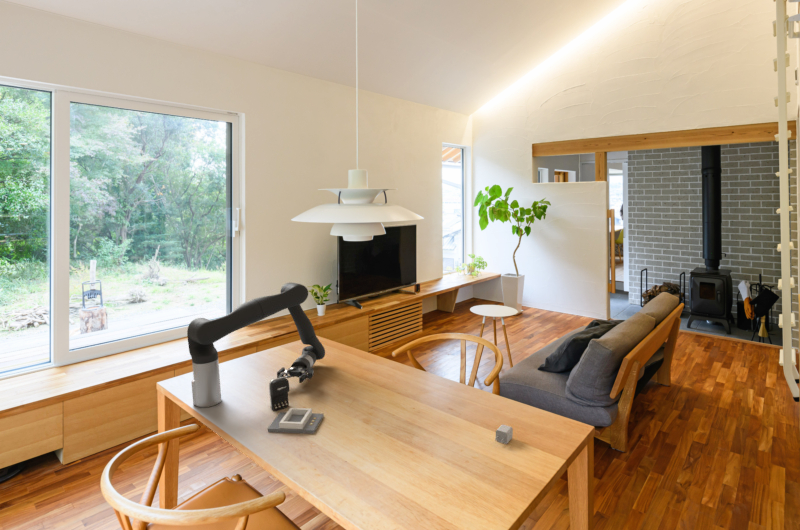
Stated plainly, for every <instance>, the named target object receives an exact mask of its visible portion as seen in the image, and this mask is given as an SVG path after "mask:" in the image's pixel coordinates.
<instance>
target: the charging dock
mask: <svg viewBox="0 0 800 530" xmlns="http://www.w3.org/2000/svg"><path fill="white" fill-rule="evenodd" d="M323 419H324V413H321V412H320V413H319V412H318V413H316V412H315V413H314V412H313V409H312V408H304V407H289V409H288V410H287V411H280V412H279V413H278V415H277V416H276V417H275V418H274V419H273V421H272V422H271V423H270V425H269V426H268V427H267V433H283V432H286V433H289V434H309V435H311V434H313V435H314V434H315V433H316V431H317V429H318V427H319V426H318V425H320V424H321V422H322V420H323ZM286 433H285V434H286Z"/></svg>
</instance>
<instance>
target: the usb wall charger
mask: <svg viewBox="0 0 800 530" xmlns="http://www.w3.org/2000/svg"><path fill="white" fill-rule="evenodd" d="M513 432H514V431H513V427H512V426H511V425H505V424H501V425H500V426H499V427H498V428H497V429H496V430H495V438H494V439H495V440H494V441H496V442H498V443H500V444H504V445H507V444H509V442H510V441H511V440H512V439H513V434H514V433H513Z"/></svg>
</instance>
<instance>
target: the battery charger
mask: <svg viewBox="0 0 800 530" xmlns="http://www.w3.org/2000/svg"><path fill="white" fill-rule="evenodd" d="M268 387H269V388H268V390H269V399H270V400H269V401H270V409H271V410H272V411H279V410H282V409H286V408H287V407H289V406H290V404H289V403H290V402H289V392H290V382H289V379H287V378H285V377H280V378H277V377H276V378H273V379H271V380H270V381H269V385H268Z"/></svg>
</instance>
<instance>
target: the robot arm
mask: <svg viewBox="0 0 800 530" xmlns="http://www.w3.org/2000/svg"><path fill="white" fill-rule="evenodd" d="M308 297H309V290H308V288H307V287H306V286H305V285H303V284H301V283H296V282H285V283H284V284H283V285H282V286H281V288H280V293H278V294H277V293H276V294H272V295H265V296H259V297H257V298H256V297H255V298H252V299H250V300H248V301H245V302H243V303H240V304H239V305H237V306H236V308H234V310H232V311H231V312H230V313H228V314H226V315H223V316H221V317H218V318H215V319H207V318H205V317H197V318H194V319H193V320H191V321H190V323H189V324H188V327H187V331H186V332H187V335H186V336H187V342H188V343H187V344H188V352H189V355H190V357H191V364H192V376H193V380H192V381H191V393H192V405H193V406H197V407H198V408H208V407H213V406H216V405H219V404H220V403H221V402H222V393H221V391H222V390H221V378H220V377H221V376H220V365H219V352H218V350H217V348H216V347H215V345H214V343H216V342H217V341H219V340H221V339H223V338H225V337H226V336H228V335H230V334H232V333H233V332H235V331H238V330H241V329H243V328H245V327H247V326H250V325H253V324H255V323H257V322H259V321H262V320H264V319H266V318H268V317H270V316H273V315H275V314H277V313H279V312H281V311H284V310H288V312H289V313H290V316H291V317H292V318H291V319H292V320H293V323H294V324H295V327H296V329H297V332H298V335H299V339H300V341H301V343H302V344H303V345H307V346H304V347H303V348H302V350H301V355H300V356H298V357H297V358H296V359H295V360H294V361H293V363H292V364H291V366H290V367H289V368H288V369H287V368H285V367H281V368H280V369H279V370H278V371H276V378H280V377H285V378H286V379H287V380H289V379H290V378H295V377H296V378H298V382H299V384H301V383H304V382H305V380H307V379H308V380H311V379H313V376H314V374H315V373H314V368H313V366H314V365H315V364H316V362H317V360H319V361H320V360H323V359H324V357H325V355H326V349H325V347H324V345H323V344H322V342H321V341H320V340H319V338H318V337H317V335H316V332H315V328H314V325H313V324H312V322H311V320H310V318H309V317H308V315H307V314H306V313H305V311H304V309H303V308H302V304H303V303H304V302H305V301H306V300H307V299H308Z"/></svg>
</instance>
